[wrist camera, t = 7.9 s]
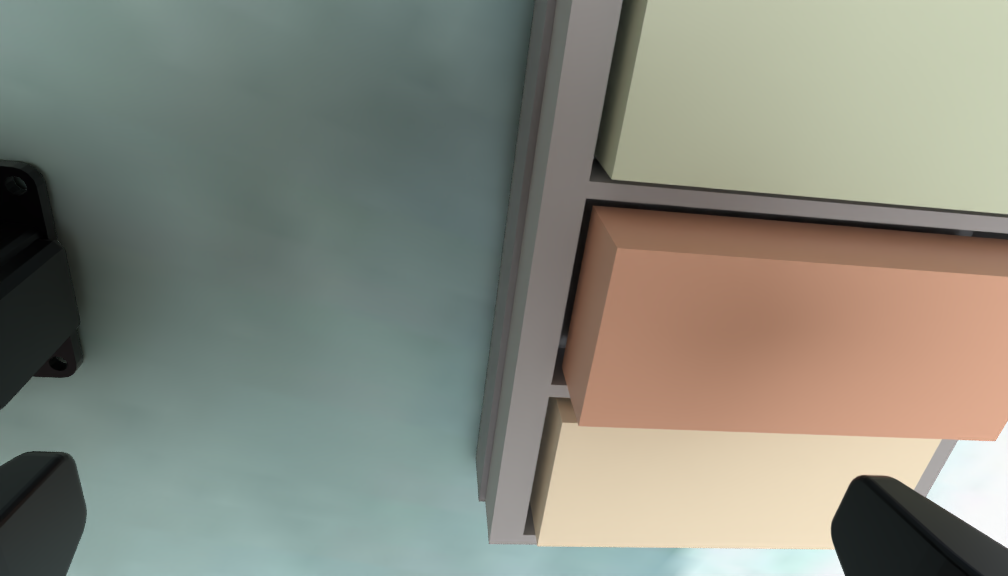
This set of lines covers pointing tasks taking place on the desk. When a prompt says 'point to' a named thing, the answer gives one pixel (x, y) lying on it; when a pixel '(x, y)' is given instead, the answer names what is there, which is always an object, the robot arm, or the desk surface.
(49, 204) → the robot arm
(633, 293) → the terracotta key
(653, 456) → the sand key
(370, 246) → the desk surface
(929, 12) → the sage key
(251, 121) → the desk surface
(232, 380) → the desk surface
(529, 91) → the pastel key tray
